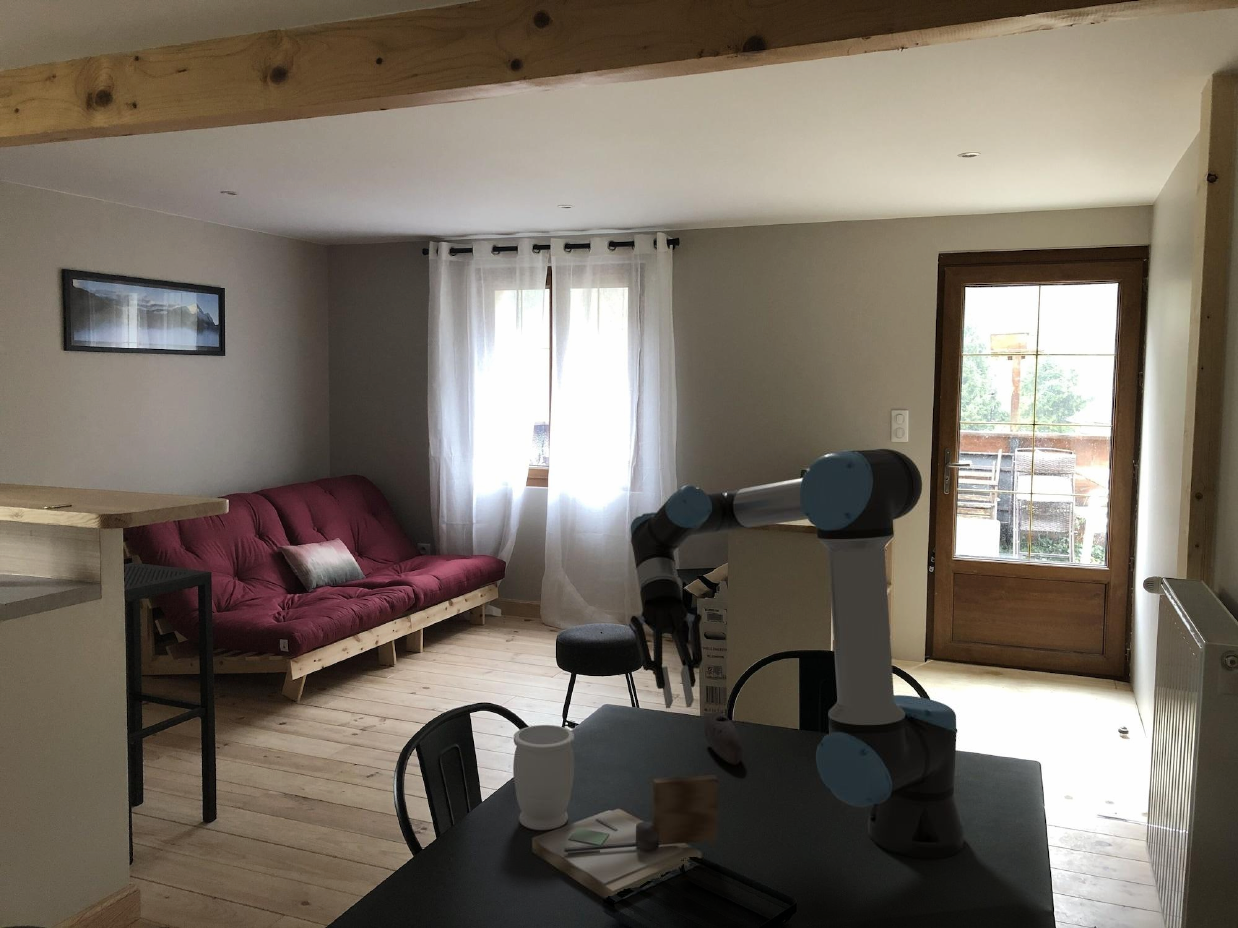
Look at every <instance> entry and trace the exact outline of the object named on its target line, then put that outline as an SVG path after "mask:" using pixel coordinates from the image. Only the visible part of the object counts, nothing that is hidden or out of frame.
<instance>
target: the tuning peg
mask: <svg viewBox="0 0 1238 928" xmlns="http://www.w3.org/2000/svg"><path fill="white" fill-rule="evenodd" d="M718 784H719V778H718V777H717V775H716V774H707V775H695V776H694V775H690V776H679V777H678V776H677V777H661V778H652V821H643V822H640V823H638V824H637V825H636V842H632V843H619V844H606V845H594V846H581V847H568V848H564V851H565V852H573V851H586V850H598V849H611V848H624V847H637V848H638V849H640V850H643V851H652V850H655V849H657V848H658V847H659V845H666V844H679V843H685V844H689V843H702V842H703V843H704V842H712V841H713V842H715V841H717V839H718V837H717V836H718V833H717V832H718V797H719V796H718V791H719V790H718Z"/></svg>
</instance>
